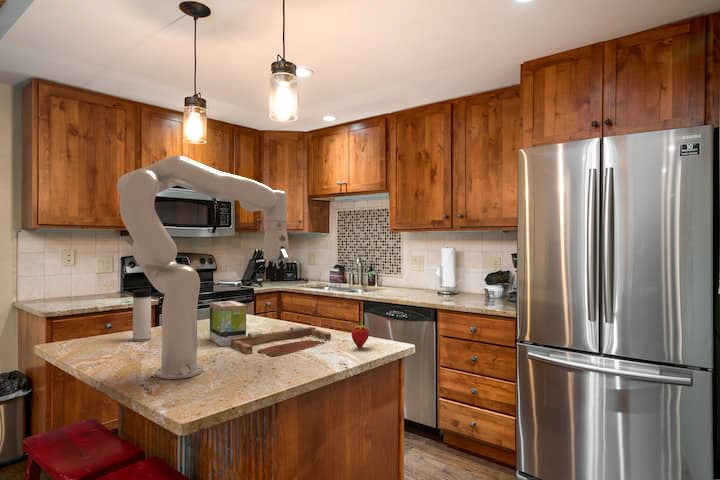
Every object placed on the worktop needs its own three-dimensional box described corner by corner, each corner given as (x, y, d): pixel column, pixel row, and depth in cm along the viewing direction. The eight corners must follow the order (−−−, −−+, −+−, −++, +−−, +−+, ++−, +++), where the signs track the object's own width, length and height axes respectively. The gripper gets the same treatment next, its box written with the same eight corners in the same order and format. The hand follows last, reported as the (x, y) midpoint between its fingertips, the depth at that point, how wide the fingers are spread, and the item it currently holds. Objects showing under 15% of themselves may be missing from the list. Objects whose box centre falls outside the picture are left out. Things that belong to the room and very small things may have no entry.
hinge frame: (330, 340, 172) (330, 329, 172) (246, 354, 149) (247, 342, 149) (311, 334, 182) (311, 324, 182) (230, 346, 160) (230, 335, 160)
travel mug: (155, 339, 171) (155, 287, 171) (138, 342, 165) (139, 289, 165) (145, 337, 174) (146, 286, 174) (129, 340, 168) (129, 288, 168)
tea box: (247, 343, 165) (247, 304, 165) (220, 347, 159) (220, 306, 159) (234, 336, 177) (234, 299, 177) (208, 339, 172) (208, 301, 172)
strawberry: (372, 347, 160) (372, 320, 160) (361, 352, 154) (361, 323, 154) (359, 345, 163) (359, 318, 163) (347, 349, 157) (347, 321, 157)
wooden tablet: (274, 359, 146) (274, 354, 146) (255, 354, 152) (255, 349, 152) (329, 344, 166) (329, 340, 166) (310, 340, 173) (310, 336, 173)
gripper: (298, 226, 146) (297, 281, 146) (273, 227, 159) (272, 277, 159) (277, 226, 141) (277, 282, 141) (253, 227, 154) (253, 278, 154)
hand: (275, 279), depth 150 cm, fingers open, 6 cm apart
